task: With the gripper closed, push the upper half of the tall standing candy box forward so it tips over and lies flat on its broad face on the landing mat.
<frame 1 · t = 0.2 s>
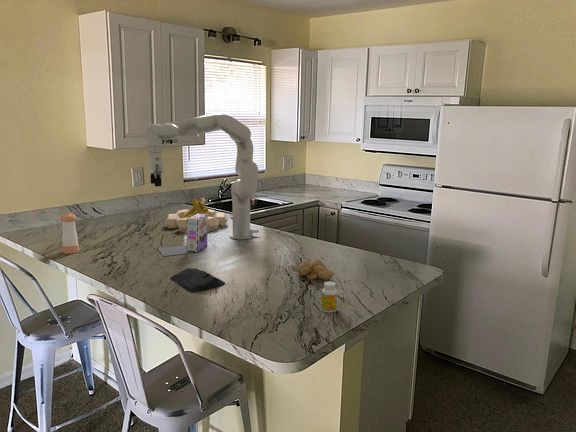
hand: (156, 184, 238), 31 cm above the worktop, tool pointing down, fingers open, 9 cm apart
supplement bottle: (328, 310, 168), on the worktop
campfire: (196, 226, 287), on the worktop
ginger root: (312, 277, 202), on the worktop
dark slate chunk: (197, 283, 194), on the worktop
salt shaker: (71, 252, 232), on the worktop
candy box: (197, 248, 240), on the worktop, touching landing mat
landing mat: (175, 251, 235), on the worktop
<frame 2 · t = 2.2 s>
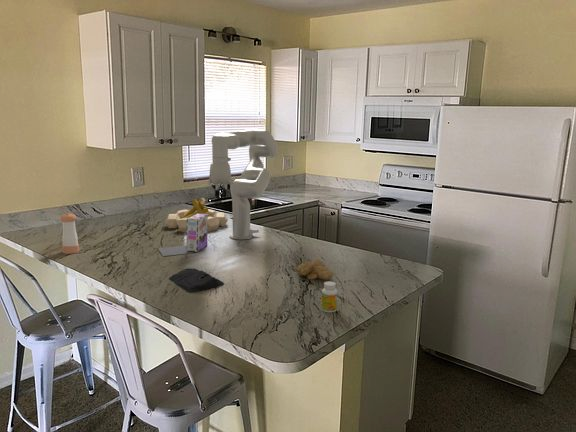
hand: (220, 197, 240), 25 cm above the worktop, tool pointing down, fingers closed
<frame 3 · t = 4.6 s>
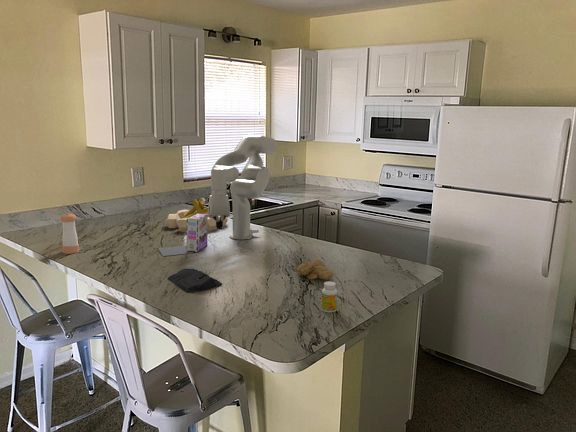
hand: (219, 228, 242), 9 cm above the worktop, tool pointing down, fingers closed
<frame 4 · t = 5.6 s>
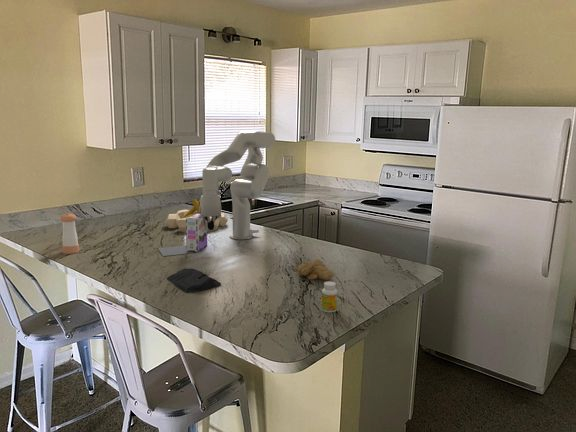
hand: (210, 229, 241), 9 cm above the worktop, tool pointing down, fingers closed
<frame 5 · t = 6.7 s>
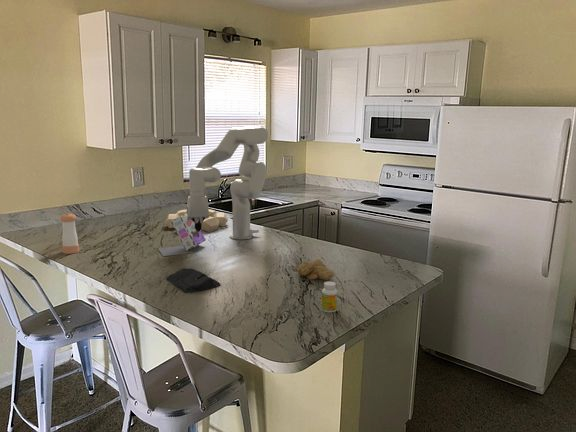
hand: (198, 230, 238), 9 cm above the worktop, tool pointing down, fingers closed
candy box: (196, 246, 240), point 1 cm above the worktop, touching landing mat
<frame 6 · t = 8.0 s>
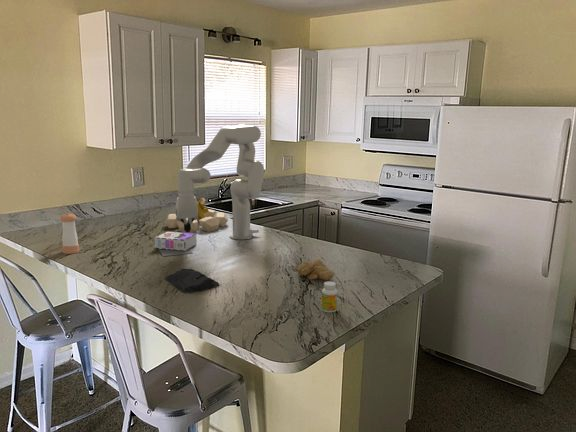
hand: (187, 231, 236), 9 cm above the worktop, tool pointing down, fingers closed
candy box: (191, 242, 240), point 3 cm above the worktop, touching landing mat
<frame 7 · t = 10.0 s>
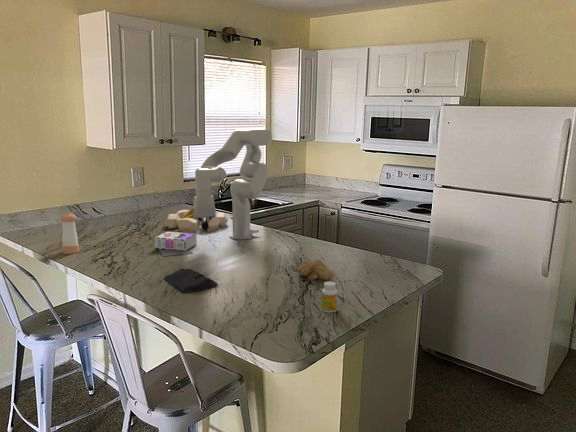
hand: (205, 230, 240), 9 cm above the worktop, tool pointing down, fingers closed
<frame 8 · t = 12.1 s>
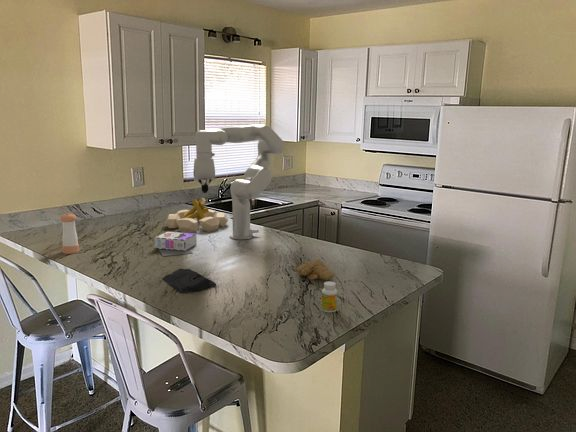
hand: (204, 192, 241), 27 cm above the worktop, tool pointing down, fingers closed
at the end: candy box tilted 90°; candy box inside the target area (3.2 cm from its centre), point 3.2 cm above the worktop; candy box touching landing mat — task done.
